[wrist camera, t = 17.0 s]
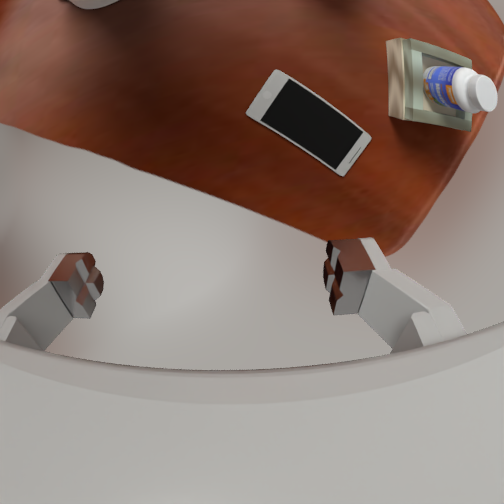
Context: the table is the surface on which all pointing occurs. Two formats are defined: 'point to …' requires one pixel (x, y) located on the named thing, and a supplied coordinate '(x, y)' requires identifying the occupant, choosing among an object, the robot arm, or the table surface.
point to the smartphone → (308, 122)
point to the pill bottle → (459, 89)
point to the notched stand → (421, 83)
